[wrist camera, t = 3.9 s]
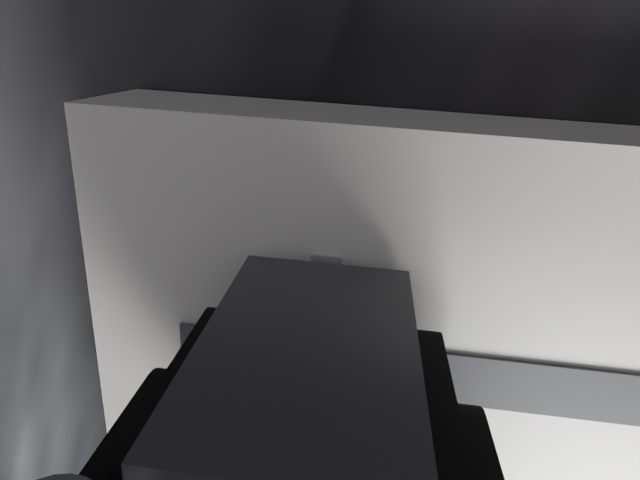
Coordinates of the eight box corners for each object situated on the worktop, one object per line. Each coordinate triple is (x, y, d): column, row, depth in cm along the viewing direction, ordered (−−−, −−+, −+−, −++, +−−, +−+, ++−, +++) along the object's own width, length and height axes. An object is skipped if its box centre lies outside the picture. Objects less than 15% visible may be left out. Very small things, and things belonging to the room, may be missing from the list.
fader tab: (248, 255, 9) (120, 464, 5) (408, 271, 9) (442, 507, 4) (247, 457, 11) (155, 750, 7) (380, 474, 11) (382, 790, 6)
